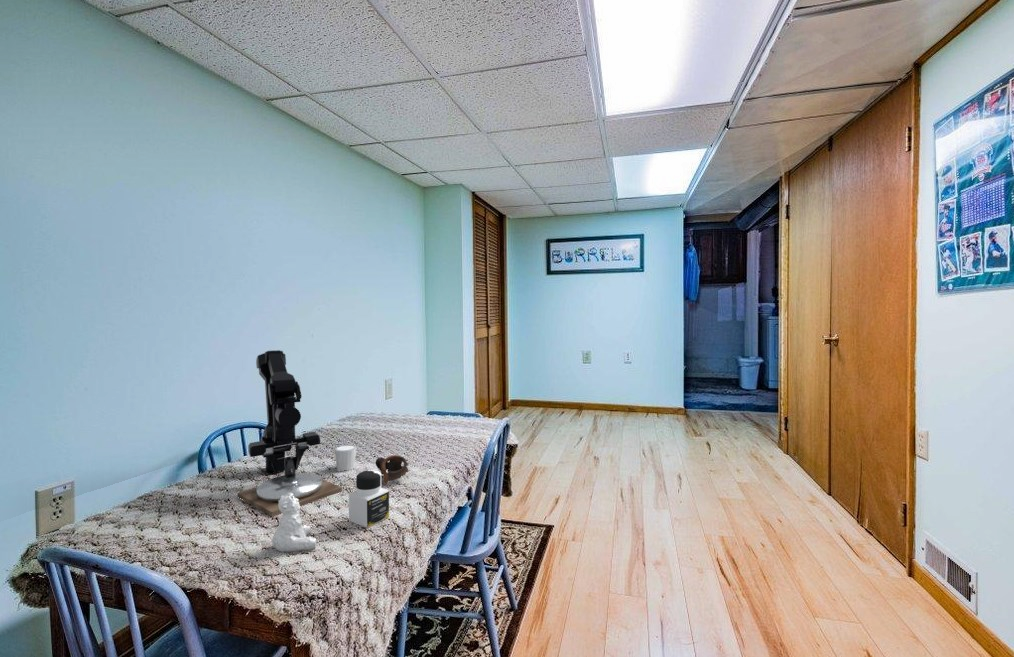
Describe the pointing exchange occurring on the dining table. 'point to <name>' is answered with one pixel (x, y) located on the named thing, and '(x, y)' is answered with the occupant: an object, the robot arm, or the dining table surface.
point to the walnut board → (272, 507)
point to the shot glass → (345, 457)
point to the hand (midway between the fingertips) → (286, 471)
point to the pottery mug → (392, 467)
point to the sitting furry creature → (291, 528)
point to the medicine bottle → (368, 500)
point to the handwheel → (289, 483)
